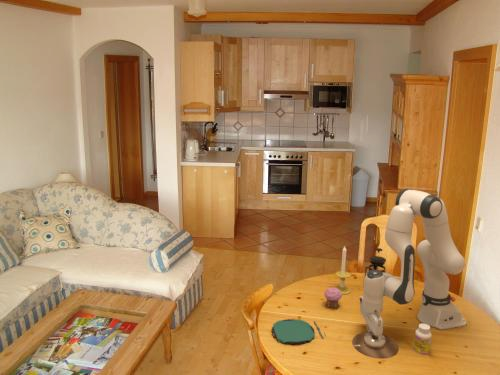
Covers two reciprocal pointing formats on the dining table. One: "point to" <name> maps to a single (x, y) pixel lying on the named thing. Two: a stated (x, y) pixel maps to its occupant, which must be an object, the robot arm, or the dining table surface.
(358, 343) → the platter
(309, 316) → the dining table surface
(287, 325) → the cutlery set
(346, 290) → the candle
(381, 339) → the cover
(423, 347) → the supplement bottle
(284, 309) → the dining table surface
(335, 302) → the cupcake
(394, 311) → the dining table surface
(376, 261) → the french press
